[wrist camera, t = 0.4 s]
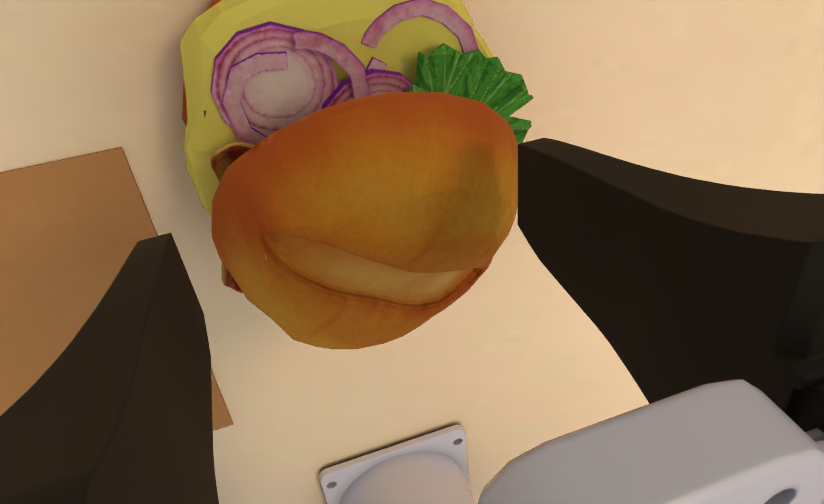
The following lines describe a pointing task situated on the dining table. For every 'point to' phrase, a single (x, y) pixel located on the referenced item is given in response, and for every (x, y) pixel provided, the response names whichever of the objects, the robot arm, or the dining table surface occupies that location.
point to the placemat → (64, 259)
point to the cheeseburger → (350, 158)
